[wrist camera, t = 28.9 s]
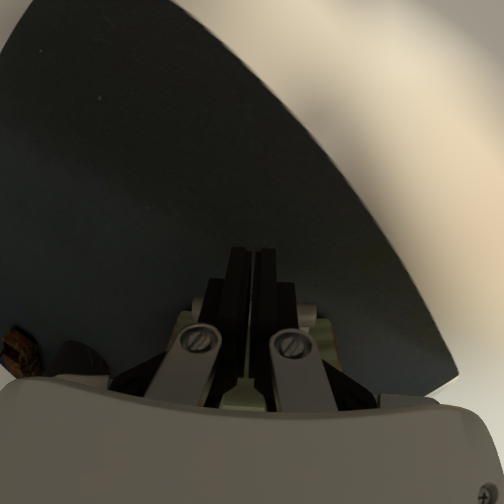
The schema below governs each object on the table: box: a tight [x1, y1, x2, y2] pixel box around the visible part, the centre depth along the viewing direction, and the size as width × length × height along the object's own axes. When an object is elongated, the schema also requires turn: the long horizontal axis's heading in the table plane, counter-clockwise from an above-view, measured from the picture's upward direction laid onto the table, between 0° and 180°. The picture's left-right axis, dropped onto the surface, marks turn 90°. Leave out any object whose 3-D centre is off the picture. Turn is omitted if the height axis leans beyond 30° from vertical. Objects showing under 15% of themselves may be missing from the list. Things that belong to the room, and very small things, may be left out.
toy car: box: [0, 328, 44, 378], centre depth 30 cm, size 12×7×5 cm, turn 155°
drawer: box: [168, 297, 340, 412], centre depth 22 cm, size 20×12×9 cm, turn 178°
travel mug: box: [42, 341, 109, 377], centre depth 22 cm, size 8×8×20 cm
